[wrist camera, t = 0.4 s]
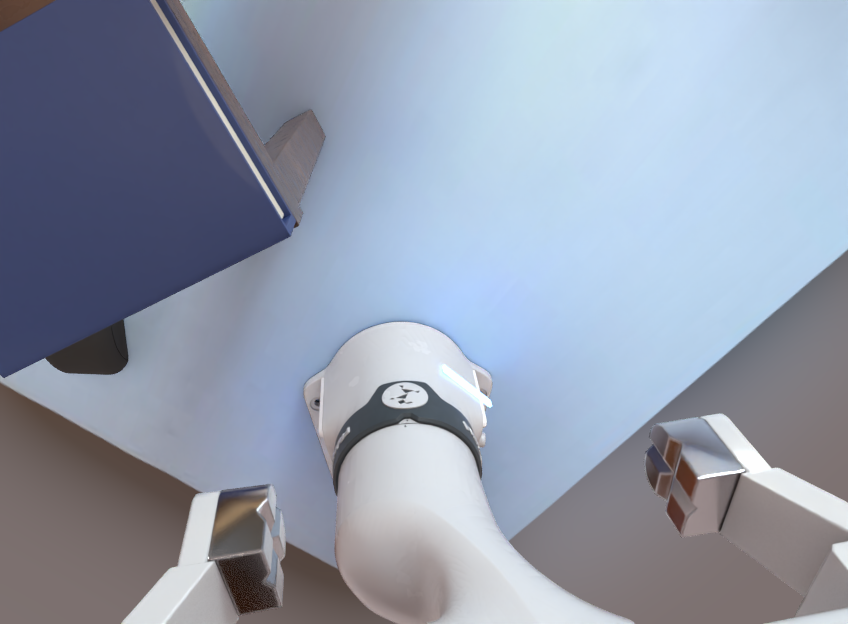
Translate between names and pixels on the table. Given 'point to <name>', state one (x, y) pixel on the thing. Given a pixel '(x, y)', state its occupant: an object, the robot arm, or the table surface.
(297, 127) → the stool
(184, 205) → the book
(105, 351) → the computer mouse
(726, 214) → the table surface
